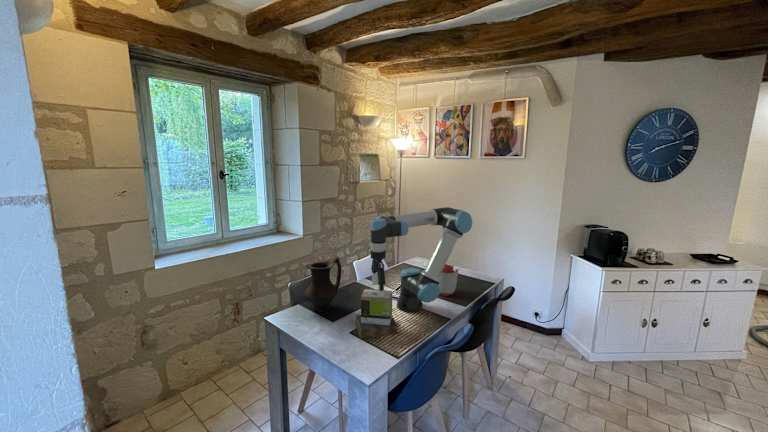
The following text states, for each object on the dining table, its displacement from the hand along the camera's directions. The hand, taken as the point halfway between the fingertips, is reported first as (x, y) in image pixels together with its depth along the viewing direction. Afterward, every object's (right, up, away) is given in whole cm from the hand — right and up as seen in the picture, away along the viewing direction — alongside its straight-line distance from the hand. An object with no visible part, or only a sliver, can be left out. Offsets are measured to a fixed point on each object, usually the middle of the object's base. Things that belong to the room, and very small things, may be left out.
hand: (377, 290), depth 161 cm
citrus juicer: (+44, -13, +49) cm, 67 cm away
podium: (-1, -20, +4) cm, 21 cm away
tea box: (-1, -16, +3) cm, 17 cm away
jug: (-32, -16, +24) cm, 43 cm away
